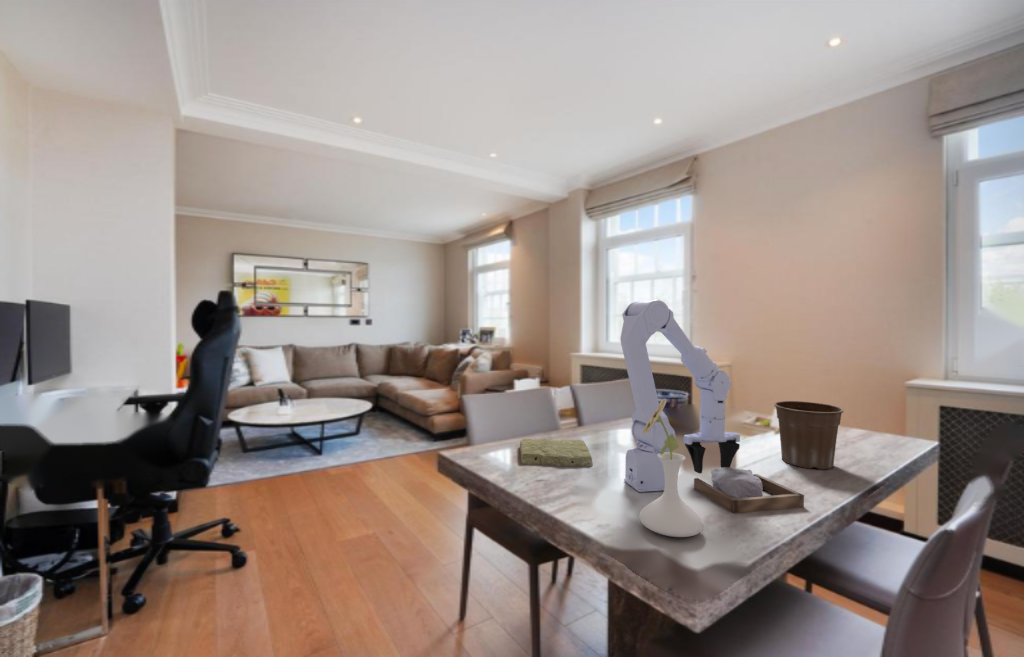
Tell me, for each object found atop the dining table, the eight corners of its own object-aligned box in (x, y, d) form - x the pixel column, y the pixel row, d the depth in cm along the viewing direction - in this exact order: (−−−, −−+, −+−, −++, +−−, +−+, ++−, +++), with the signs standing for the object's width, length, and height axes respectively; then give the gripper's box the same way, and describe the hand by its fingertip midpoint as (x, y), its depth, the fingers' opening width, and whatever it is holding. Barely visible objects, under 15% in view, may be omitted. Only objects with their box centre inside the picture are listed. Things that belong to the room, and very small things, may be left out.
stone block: (720, 504, 101) (768, 499, 99) (715, 482, 101) (763, 477, 99) (708, 487, 112) (751, 482, 110) (704, 468, 113) (747, 463, 111)
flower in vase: (657, 511, 92) (659, 390, 92) (713, 530, 84) (715, 397, 83) (622, 530, 83) (624, 396, 83) (681, 554, 75) (683, 405, 75)
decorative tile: (519, 448, 139) (519, 437, 139) (584, 449, 139) (584, 437, 139) (519, 467, 121) (519, 454, 121) (594, 468, 120) (594, 455, 120)
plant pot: (831, 477, 114) (832, 414, 114) (763, 461, 126) (764, 404, 126) (850, 464, 124) (851, 407, 124) (786, 451, 137) (787, 399, 137)
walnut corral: (733, 513, 91) (733, 500, 91) (693, 488, 105) (694, 478, 105) (803, 506, 95) (804, 495, 95) (756, 484, 108) (756, 474, 108)
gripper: (696, 421, 106) (695, 478, 106) (749, 419, 109) (748, 474, 109) (679, 415, 113) (678, 469, 113) (729, 413, 116) (728, 465, 116)
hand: (711, 471), depth 112 cm, fingers open, 7 cm apart
